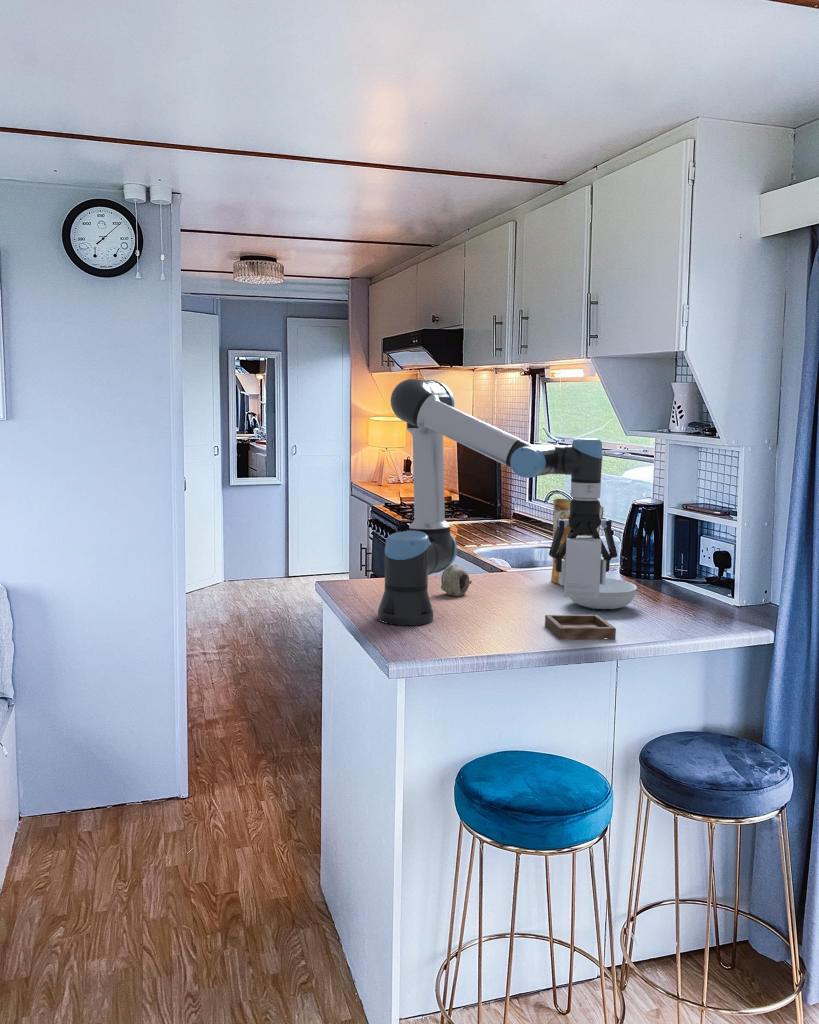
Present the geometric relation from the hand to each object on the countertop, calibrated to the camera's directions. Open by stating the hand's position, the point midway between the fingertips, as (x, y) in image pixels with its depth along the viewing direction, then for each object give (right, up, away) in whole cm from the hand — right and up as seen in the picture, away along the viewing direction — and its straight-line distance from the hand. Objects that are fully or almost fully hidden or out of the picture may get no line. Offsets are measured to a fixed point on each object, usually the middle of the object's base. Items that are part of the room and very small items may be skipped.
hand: (581, 584), depth 224 cm
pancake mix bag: (+9, -6, +62) cm, 63 cm away
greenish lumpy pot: (-30, -7, +44) cm, 54 cm away
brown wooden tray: (0, -12, +2) cm, 13 cm away
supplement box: (0, -3, 0) cm, 3 cm away
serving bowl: (+11, -9, +31) cm, 35 cm away
